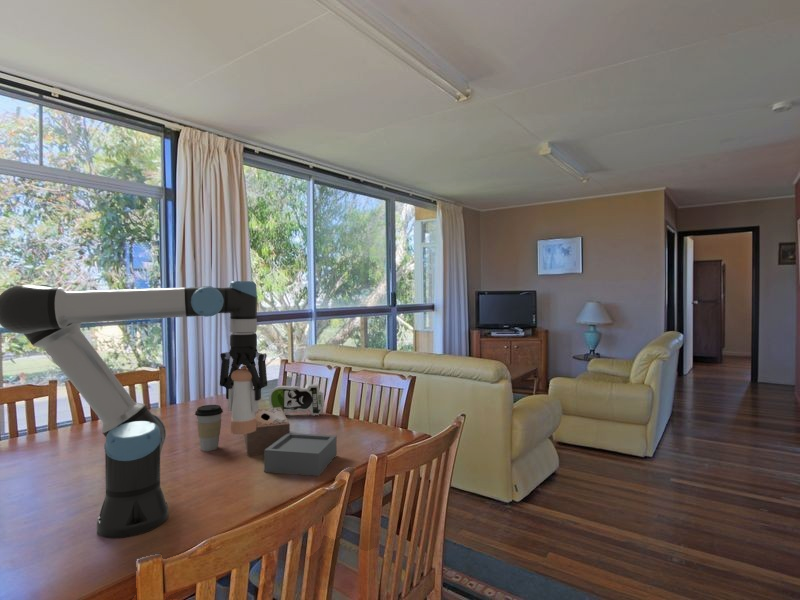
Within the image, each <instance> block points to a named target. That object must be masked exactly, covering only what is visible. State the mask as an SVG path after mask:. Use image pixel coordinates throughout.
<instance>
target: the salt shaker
mask: <svg viewBox="0 0 800 600" xmlns="http://www.w3.org/2000/svg"><path fill="white" fill-rule="evenodd" d="M251 378H252V375H251V373H250V372H249V371H248V368H247V367H246V365H241V366H240V368H239V369H237V370H235V371H233V373H232V374H231V379H232V380H233V381H234V385H233V387H234V396H233V403H232V411H231V419H230V422H229V424H230V427H229V429H230V430H229V431H230V433H231V434H233V435H244V434H248V433H252V432H254V431H256V417H255V412H252V390H253V389H254V386H253V383H252V380H251Z"/></svg>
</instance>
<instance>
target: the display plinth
mask: <svg viewBox="0 0 800 600" xmlns="http://www.w3.org/2000/svg"><path fill="white" fill-rule="evenodd" d="M337 443H338V442H337V435H330V434H328V435H327V434H316V433H315V434H314V433H313V434H312V433H297V432H290V433H287V434H286V435H284V436H283V437H282V438H280V439H279V440H277V441H276V442H275V443H273V444H272V445H271V446H269V447H268V448H266V449H265V450H264V454H263V455H264V457H263V460H264V461H263V462H264V466H263V467H264V468H263V470H264V471H263V472H264V473H270V472H274V473H273V474H284V473H289V474H288V475H297V474H302V475H301V476H311V475H313V476H314V477H319V476H320V475H321V474H322V473H323V472H324V471H323V470H325V469H326V468H327V467H328V466H329V465H330V464H331V463H332V461H333V460H334V459H335V458H336V457H337V456H336V455H337V451H338V450H337ZM335 456H336V457H335ZM334 457H335V458H334ZM333 458H334V459H333ZM332 459H333V460H332ZM330 462H331V463H330ZM329 463H330V464H329ZM328 464H329V465H328ZM327 465H328V466H327ZM322 471H323V472H322ZM313 476H312V477H313Z"/></svg>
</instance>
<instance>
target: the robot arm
mask: <svg viewBox="0 0 800 600" xmlns="http://www.w3.org/2000/svg"><path fill="white" fill-rule="evenodd" d="M217 314H229V315H230V316H229V332H230V333H231V334H230V336H229V345H230V349H229V351H228V352H227V351H226V352H222V353H220V359H221V365H220V367H221V368H220V376H219V377H220V378H219V386H220V387H224V388H225V398H226V400H228V410H227V411H228V412H232V403H233V396H234V381H233V380H232V379H231V374H232V373H233V371H235V370H237V369H240V368H241V367H242V366H245V367H246V368H248V371H249V372H250V373H251V375H252V378H251V380H252V383H253V390H252V412H256V411H258V409H259V401H260V400H261V399H262V389H263V388H265V387H268V377H267V364H266V361H267V353H262V352H258V350H257V346H258V334H257V333H256V332H258V329H257V328H258V325H257V324H258V323H257V322H258V321H257V320H258V319H257V318H258V317H257V316H258V292H257V283H256V282H254V281H249V280H248V281H247V280H239V281H238V280H232V281H230V283H229V287H215V286H214V287H213V286H210V285H209V286H208V285H207V286H195V287H193V286H191V287H167V288H161V287H160V288H138V289H136V288H134V289H133V288H132V289H105V290H103V289H102V290H80V291H79V290H74V291H68V290H66V289H65V288H63V287H55V286H53V285H47V284H20V285H19V284H18V285H15V286H12V287H9V288H8V289H5V290H4V291H3V292H1V293H0V326H1V327H3V328H4V329H5V330H7V331H9V332H12V333H16V334H23V335H24V336H25V338H26V339H27V340H28V342H29V343H30V344H31V345H32V346H33V347H36V348H42V349H44V350H45V351H46V352H47V353H48V354H49V356H50V358H51V359H52V360H53V361H54V362H55V364H56V365H57V366H58V367H59V369H60V370H61V372H63V374H64V375H65V376H66V378H67V379H68V380H69V382H70V383H71V384H72V386H74V388H75V389H76V390H77V391H78V392H79V394H80V395H81V397H82V398H83V399H84V401H85V402H86V403H87V404H88V406H89V407H90V408H91V409H92V411H93V412H94V413H95V415H96V416H97V417H98V418H99V420H100V421H101V422H102V429H101V431H100V432H101V433H102V434H103V435H104V437H105V442H104V446H103V447H104V452H105V454H104V455H105V456H104V457H105V459H104V460H105V462H104V463H105V465H104V466H105V468H104V469H105V470H104V471H105V472H104V473H105V497H104V500H103V504H102V506H101V509H100V512H99V516H98V517H97V521H96V531H97V534H98V535H99V536H101V537H104V538H108V539H109V538H111V539H121V538H122V539H123V538H129V537H134V536H138V535H141V534H145V533H146V532H149V531H151V530H153V529H155V528H157V527H159V526H161V525H163V523H164V522H166V520H167V519H168V517H169V505H168V503H167V501H166V499H165V495H164V493H163V490H162V487H161V453H162V450H163V447H164V444H165V441H166V435H167V433H166V427H165V423H163V421H162V420H161V419H160V417H158V416H157V415H155V414H154V413H152V412H151V411H150V410H149V408H148V407H147V406H146V404H145V403H142V402H141V403H140V402H136V401H135V400H134V399H133V398H132V396H131V395H130V394H129V391H127V390H126V389H125V387H124V386H123V385H122V383H121V382H120V381H119V379H118V378H117V376H116V375H115V374H114V373H113V371H112V370H111V369H110V367H109V365H107V364H106V361H104V359H103V358H102V357H101V355H100V354H99V353H98V352H97V350H96V348H95V347H93V345H92V344H91V342H90V341H89V339H87V337H86V336H85V334H84V333H83V332H82V330H81V326H82V324H83V323H84V324H85V323H101V322H105V323H106V322H117V321H118V322H119V321H135V320H153V319H154V320H155V319H167V318H168V319H169V318H183V317H184V318H185V317H187V318H188V317H190V318H191V317H205V318H207V317H214V316H215V315H217ZM231 359H232V362H231ZM255 359H257V363H256V361H255ZM230 362H231V365H230ZM256 365H257V366H256ZM230 366H231V367H230ZM257 370H258V371H257Z"/></svg>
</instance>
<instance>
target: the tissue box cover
mask: <svg viewBox="0 0 800 600" xmlns="http://www.w3.org/2000/svg"><path fill="white" fill-rule="evenodd" d="M255 417H256V431H254V432H252V433H248V434H243V437H244V445H245V444H246V445H245V450H247V451H246V456H247V457H249V456H248V455H252V456H257V455H256V454H260V455H264V454H263V453H264V450H265V449H266V448H268V447H269V446H271V445H272V444H273V443H275V442H276V441H277V440H279V439H280V438H282V437H283V436H284V435H286V434H287V433H291V432H290V431H291V430H290V429H291V425H290V422H289V420H288V418H287V416H286V414H284V412H283V410H282V408H281V407H277V408H271V407H268V408H266V407H265V408H258V411H256V412H255Z"/></svg>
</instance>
